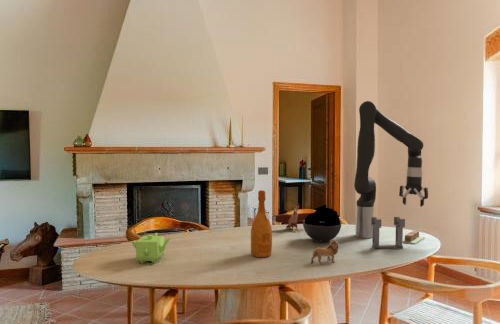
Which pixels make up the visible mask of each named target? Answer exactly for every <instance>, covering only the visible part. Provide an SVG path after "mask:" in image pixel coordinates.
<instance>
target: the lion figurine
mask: <svg viewBox="0 0 500 324" xmlns="http://www.w3.org/2000/svg"><path fill="white" fill-rule="evenodd" d="M339 247H340V245H339V243H338V241H337V240H335V239H332V240H330V241H329V244H328V246H327V247H323V248H322V247H316V248H315V249H314V250H313V253H312V256H311V262H310V264H315V261H314V259H316V258H317V261H318V263H319V265H323V264H324V263H323V262H322V261H321V260H322V259H321V258H322V257H327V259H326V260H327V262H331V263H333V264H335V262H336V261H334V260H335V256H336V255H337V253H338V251H339ZM330 257H331V258H330Z"/></svg>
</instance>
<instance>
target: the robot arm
mask: <svg viewBox="0 0 500 324" xmlns="http://www.w3.org/2000/svg"><path fill="white" fill-rule="evenodd" d="M358 113H359V132H358V138H357V148H356V149H357V152H356V153H357V155H356V171H355V176H354V185H353V186H354V190H355V191H356V193H357V194H358V195H360V196H359V198H358V199H357V200H356V217H355V237H356V238H363V239H372V237H373V226H372V225H371V217H375V214H374V213H375V209H374V207H375V202H376V197H377V196H376V195H377V194H376V193H377V184H376V181H375V179H374V178H372V177H369V171H370V166H371V165H372V162H373V160H374V157H375V153H376V152H375V151H376V137H375V125H377V126H379V127H380V128H381V129H382V130H384V131H385V132H386V133H387V134H388V135H390V136H391V137H393V138H394V139H395V140H397V141H398V142H400V143H402V144H403V145H405V146H406V147H407V157H408V158H407V169H406V180H405V181H406V183H405V185H403V184H401V185H400V186H399V195H398V196H399V197H401V198H402V204H403V205H407V196H408V195H417V196H418V198H420V201H419V202H420V203H419V204H420V205H419V207H423V206H424V205H425V200H427V199H428V198H429V188H428V187H426V186H425V187H423V186H422V182H423V181H422V180H423V178H422V177H423V170H422V168H423V160H422V159H423V158H422V150H423V148H424V142H423V141H422V139H420V138H419V137H418V136H415V135H414V134H412V133H411V132H410V131H408V130H407V129H406V128H404V127H403V126H402V125H400V124H398V123H397V122H396V121H394V120H392V119H390V118H389V117H387V116H385V114H383V113H382V112H381V111H380V110H379V109H378V108H377V106H376V104H375V102H374V101H371V100H370V101H369V100H366V101H363V102H362V103H361V104H360V105H359V109H358ZM404 190H406V191H405V192H404ZM421 191H422V192H423V193H424V195H423V193H422V192H421Z"/></svg>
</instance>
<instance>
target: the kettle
mask: <svg viewBox="0 0 500 324" xmlns="http://www.w3.org/2000/svg"><path fill="white" fill-rule="evenodd" d="M172 239H173V238H170V237H169V238H166V239H165V236H164V235H158V232H155V233H154V234H147V235H143V236H142V237H140V238H139V239H138V240H137V241H136V240H132V241H130V243H131V245H132V246H133V247H134V249H135V261H136V262H139V264H144V263H146V262H151V263H152V264H157V263H158V261H159V260H161V259H162V257H163V256H164V254H165V250H166V248H167V245H168V242H170V240H172Z"/></svg>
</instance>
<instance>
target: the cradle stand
mask: <svg viewBox="0 0 500 324" xmlns="http://www.w3.org/2000/svg"><path fill="white" fill-rule="evenodd" d="M393 217H394V218H393V226H395V244H380V229H381V228H382V219H381V218H378V217H377V216H374V217H371V225H372V226H373V237H372V238H371V239H372V241H371V242H372V245H371V249H373V250H387V249H388V250H389V249H390V250H392V249H395V250H396V249H398V250H399V249H404V246H403V242H402V239H403V238H404V237H403V235H404V234H403V230H404V229H403V228H405V227H406V219H405V218H401V217H400V216H393Z"/></svg>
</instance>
